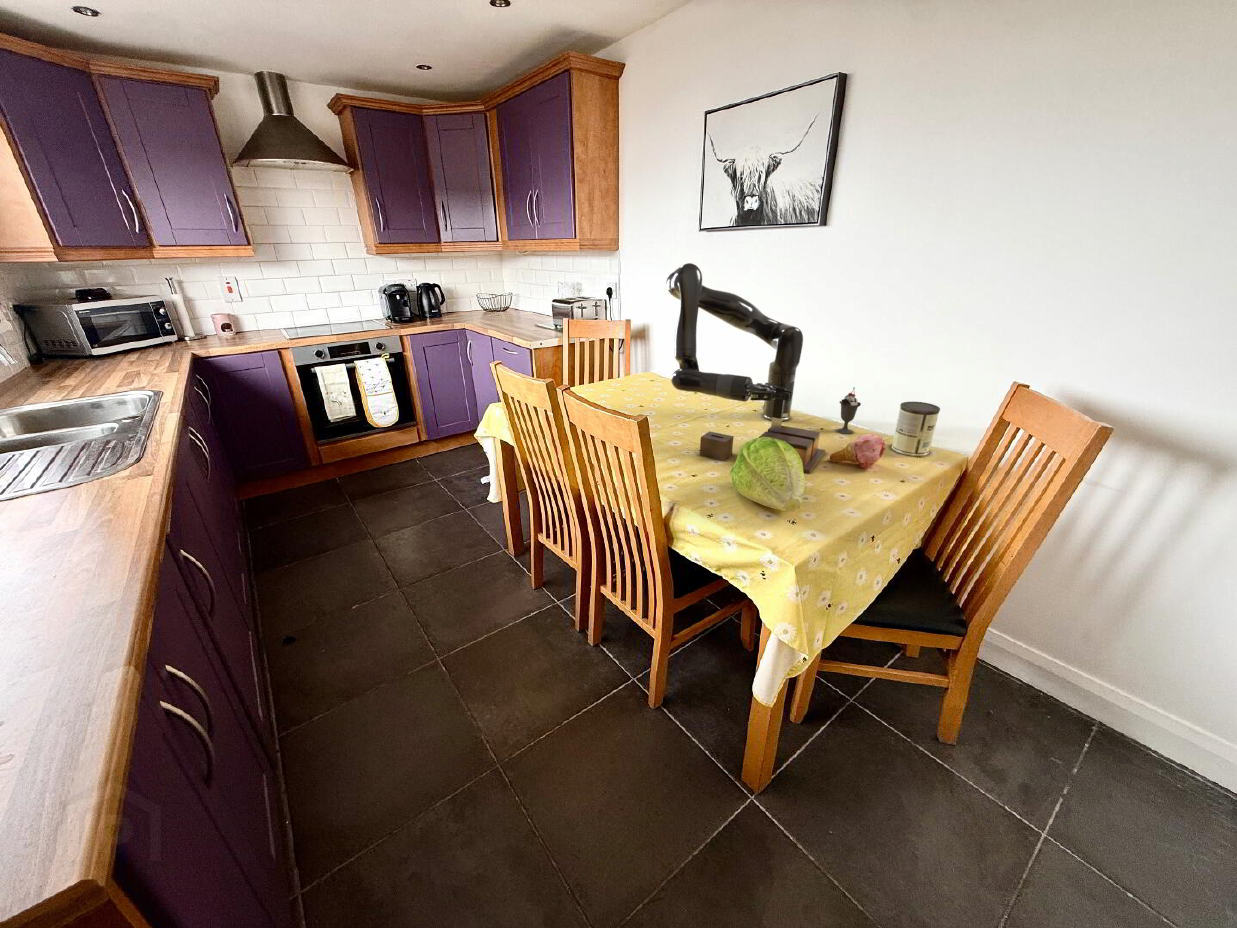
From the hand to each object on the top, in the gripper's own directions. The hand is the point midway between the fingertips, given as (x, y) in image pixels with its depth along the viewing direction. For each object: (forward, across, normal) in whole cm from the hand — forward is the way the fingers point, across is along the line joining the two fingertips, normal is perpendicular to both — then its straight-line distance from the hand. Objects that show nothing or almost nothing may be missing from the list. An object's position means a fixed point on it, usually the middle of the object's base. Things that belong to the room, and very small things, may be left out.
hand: (790, 395), depth 144 cm
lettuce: (+6, -31, +19) cm, 37 cm away
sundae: (+11, +33, +19) cm, 39 cm away
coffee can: (+31, +26, +19) cm, 45 cm away
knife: (-3, 0, +15) cm, 15 cm away
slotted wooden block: (+1, 0, +19) cm, 19 cm away
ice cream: (+20, +4, +19) cm, 28 cm away
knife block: (-17, -10, +19) cm, 27 cm away
